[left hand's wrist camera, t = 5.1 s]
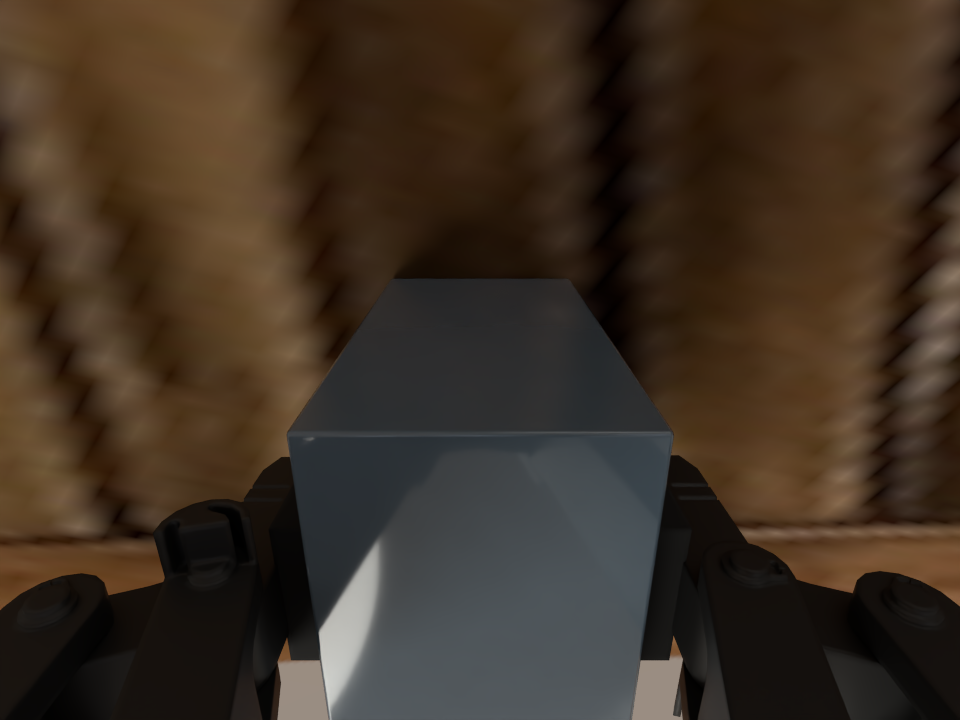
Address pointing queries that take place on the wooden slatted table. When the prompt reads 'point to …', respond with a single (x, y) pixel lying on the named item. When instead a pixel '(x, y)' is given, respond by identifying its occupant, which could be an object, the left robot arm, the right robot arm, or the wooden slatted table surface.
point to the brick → (480, 508)
